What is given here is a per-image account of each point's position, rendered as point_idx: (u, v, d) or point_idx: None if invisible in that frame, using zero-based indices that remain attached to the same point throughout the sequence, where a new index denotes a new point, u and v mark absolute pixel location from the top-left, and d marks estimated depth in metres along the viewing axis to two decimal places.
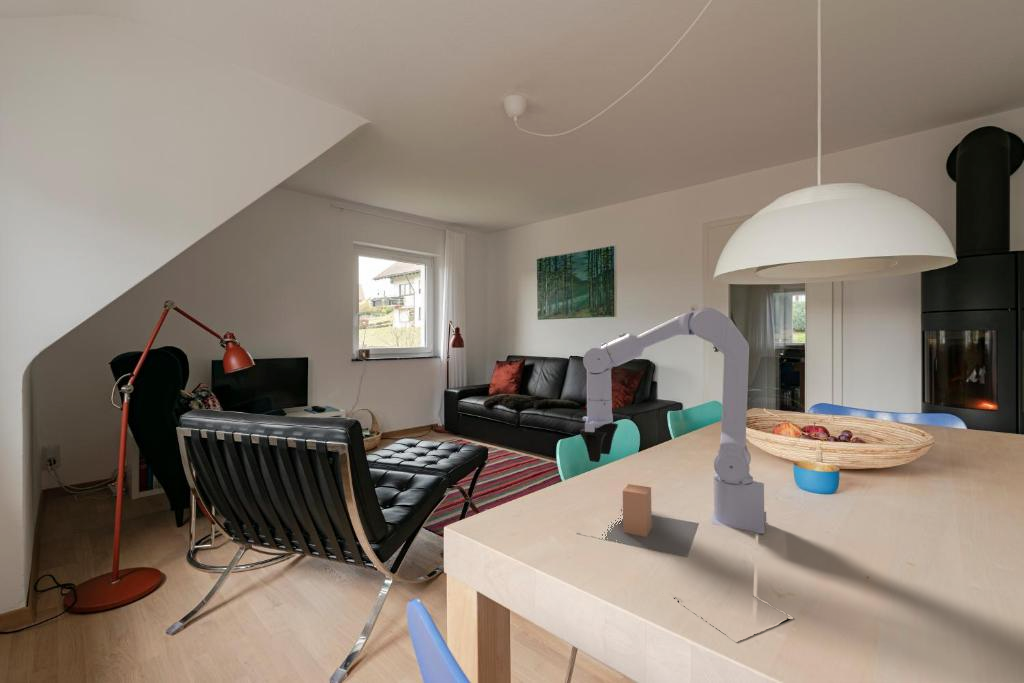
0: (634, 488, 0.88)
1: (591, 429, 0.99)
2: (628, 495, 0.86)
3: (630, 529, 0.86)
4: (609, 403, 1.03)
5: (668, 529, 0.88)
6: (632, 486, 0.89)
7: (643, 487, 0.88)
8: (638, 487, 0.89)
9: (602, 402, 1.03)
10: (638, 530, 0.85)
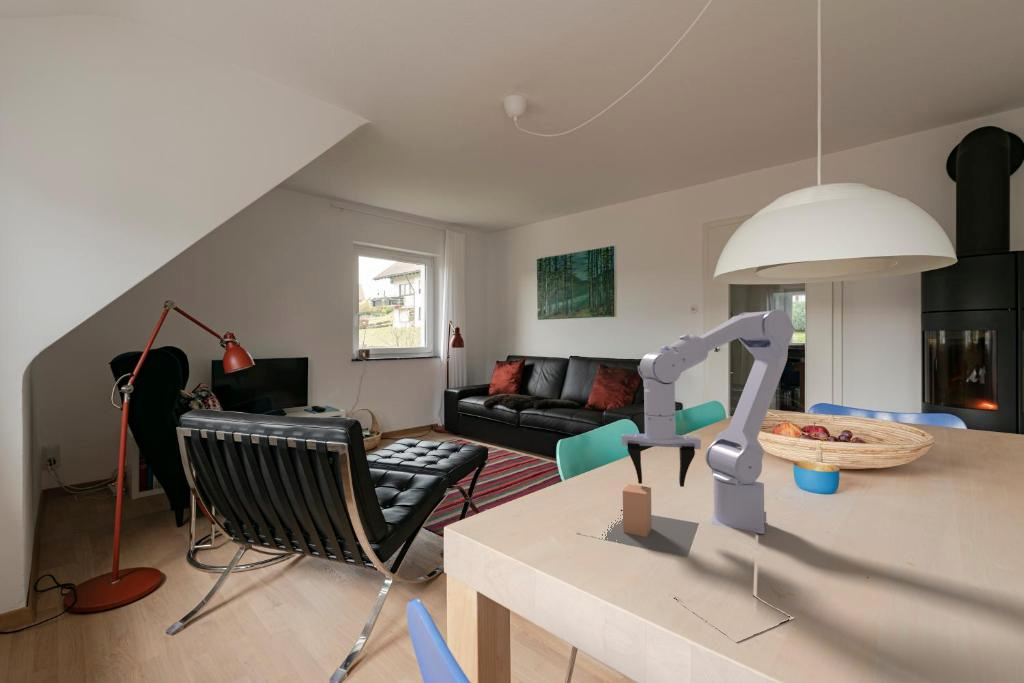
0: (634, 488, 0.88)
1: None
2: (628, 495, 0.86)
3: (630, 529, 0.86)
4: (655, 419, 0.86)
5: (668, 529, 0.88)
6: (632, 486, 0.89)
7: (643, 487, 0.88)
8: (638, 487, 0.89)
9: (647, 416, 0.87)
10: (638, 530, 0.85)
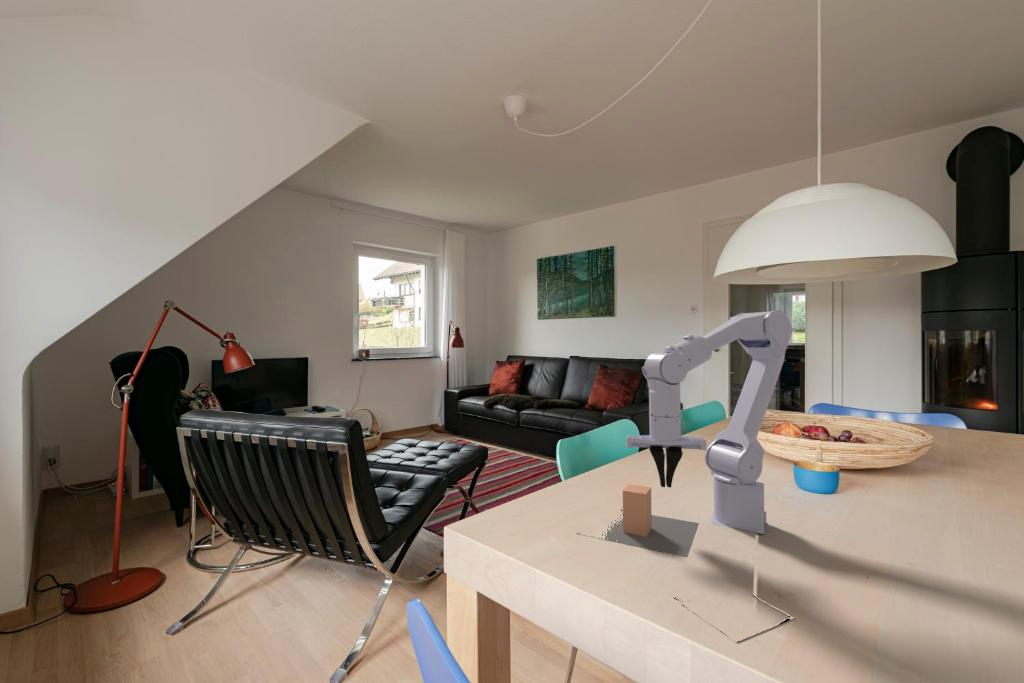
0: (634, 488, 0.88)
1: (626, 444, 0.88)
2: (628, 495, 0.86)
3: (630, 529, 0.86)
4: (662, 421, 0.84)
5: (668, 529, 0.88)
6: (632, 486, 0.89)
7: (643, 487, 0.88)
8: (638, 487, 0.89)
9: (652, 417, 0.86)
10: (638, 530, 0.85)
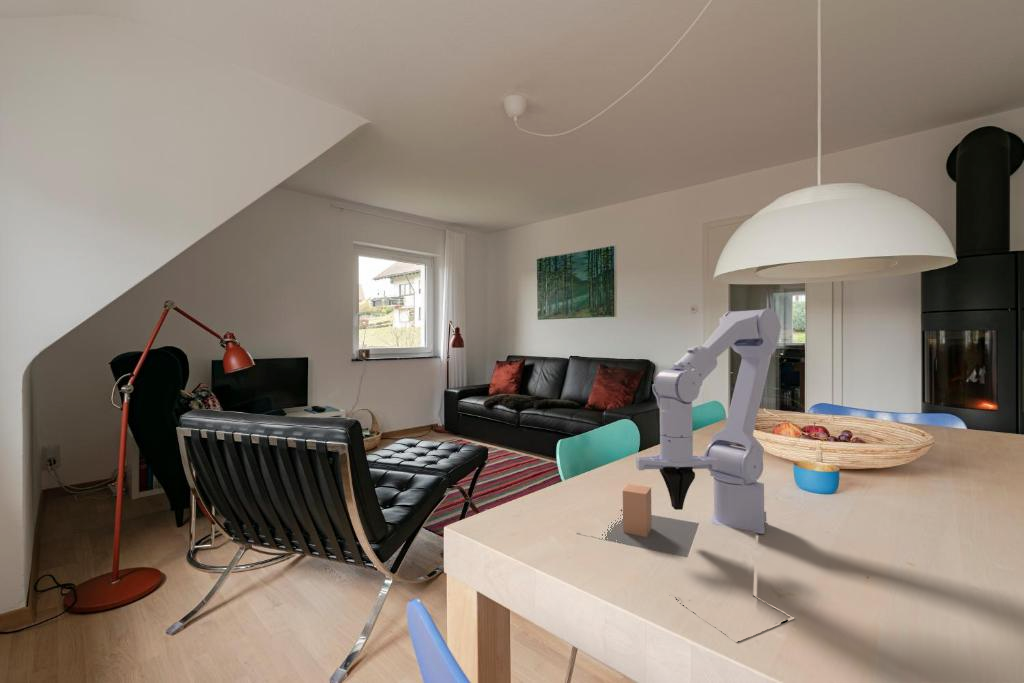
0: (634, 488, 0.88)
1: (638, 466, 0.83)
2: (628, 495, 0.86)
3: (630, 529, 0.86)
4: (676, 441, 0.81)
5: (668, 529, 0.88)
6: (632, 486, 0.89)
7: (643, 487, 0.88)
8: (638, 487, 0.89)
9: (665, 438, 0.82)
10: (638, 530, 0.85)
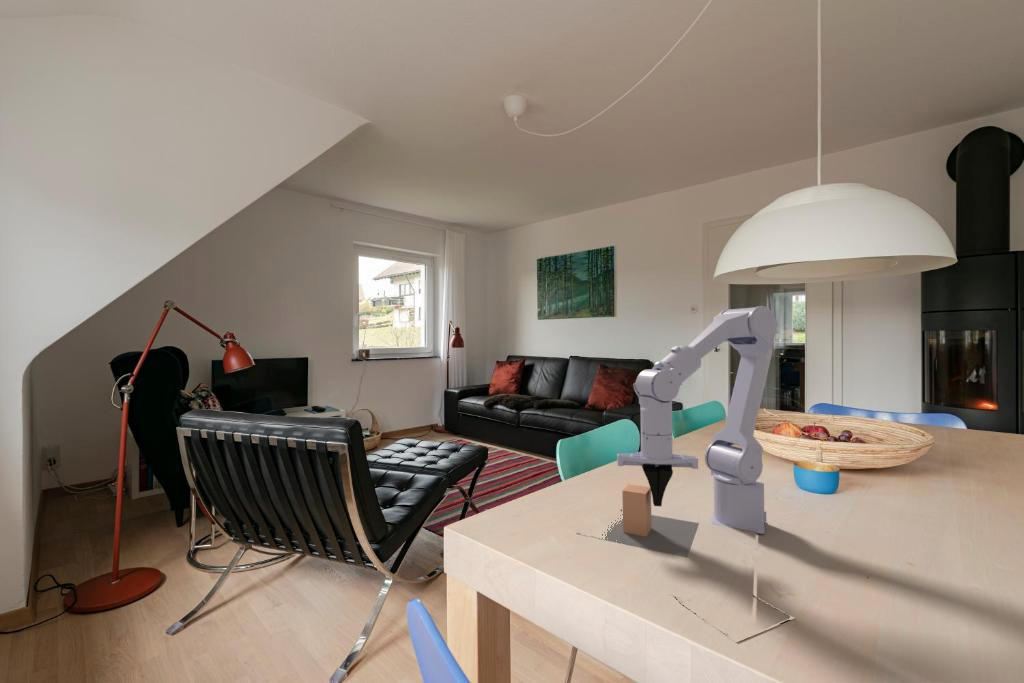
0: (634, 488, 0.88)
1: (617, 462, 0.86)
2: (628, 494, 0.86)
3: (630, 529, 0.86)
4: (653, 439, 0.83)
5: (668, 529, 0.88)
6: (632, 486, 0.89)
7: (643, 487, 0.88)
8: (638, 486, 0.89)
9: (644, 435, 0.84)
10: (638, 530, 0.85)
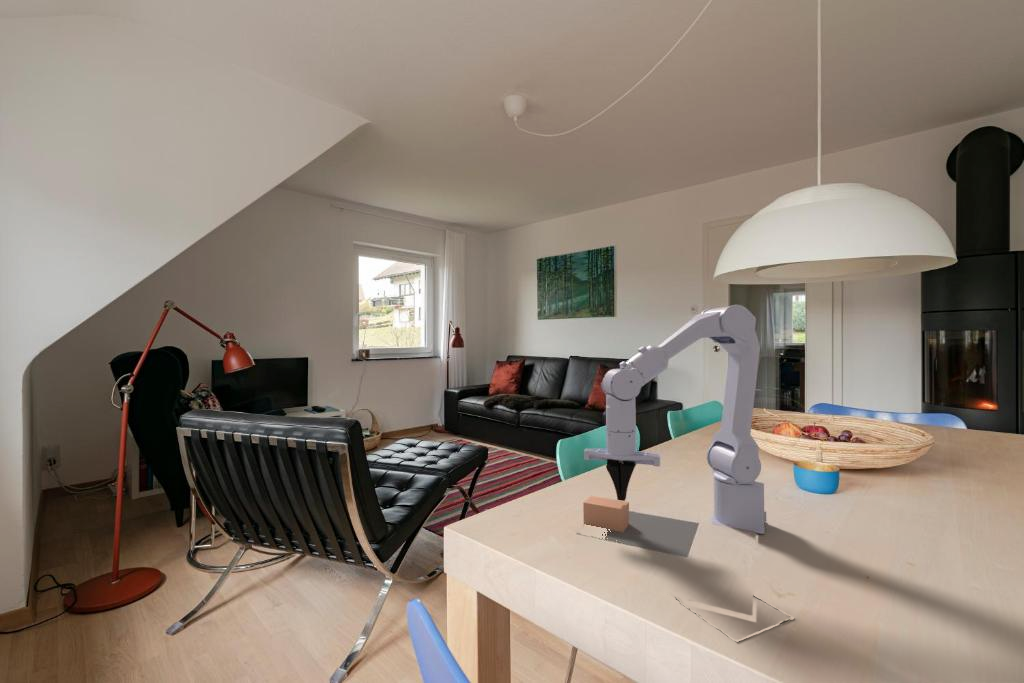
0: None
1: None
2: (586, 519, 0.90)
3: (619, 524, 0.87)
4: (614, 435, 0.87)
5: (668, 529, 0.88)
6: None
7: None
8: None
9: (607, 432, 0.88)
10: (618, 516, 0.87)
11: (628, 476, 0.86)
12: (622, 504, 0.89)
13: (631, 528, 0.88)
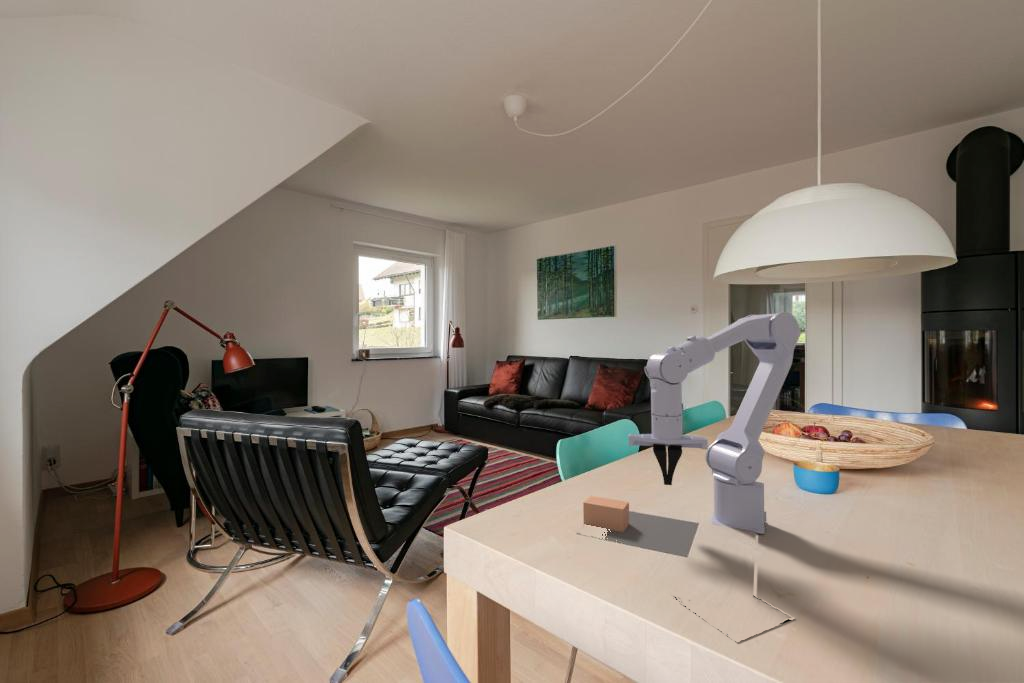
0: None
1: None
2: (586, 519, 0.90)
3: (619, 524, 0.87)
4: (662, 420, 0.86)
5: (668, 529, 0.88)
6: None
7: None
8: None
9: (653, 416, 0.88)
10: (618, 516, 0.87)
11: (676, 460, 0.86)
12: (622, 504, 0.89)
13: (631, 528, 0.88)
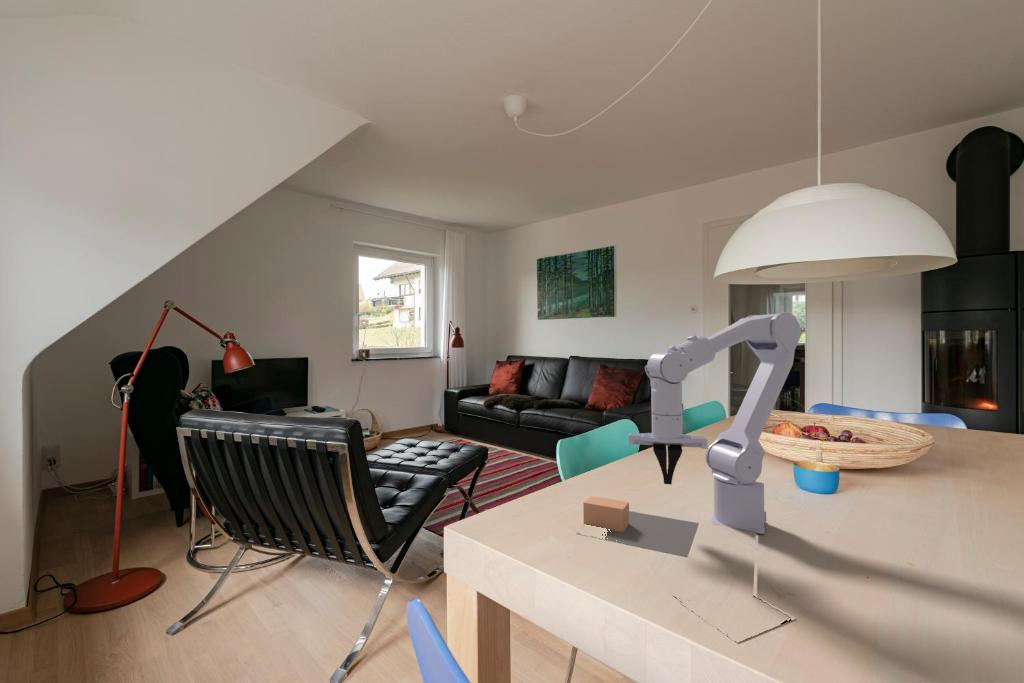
0: None
1: (629, 441, 0.90)
2: (586, 519, 0.90)
3: (619, 524, 0.87)
4: (662, 419, 0.86)
5: (668, 529, 0.88)
6: None
7: None
8: None
9: (654, 416, 0.88)
10: (618, 516, 0.87)
11: (676, 459, 0.86)
12: (622, 504, 0.89)
13: (631, 528, 0.88)
